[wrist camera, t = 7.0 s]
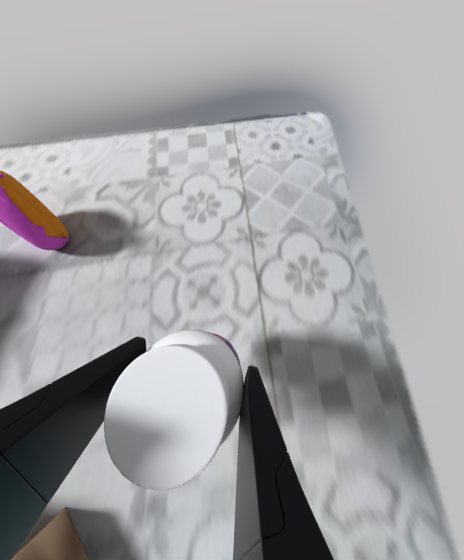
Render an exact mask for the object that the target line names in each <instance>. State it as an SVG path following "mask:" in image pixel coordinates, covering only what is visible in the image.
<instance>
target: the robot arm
mask: <svg viewBox="0 0 464 560" xmlns="http://www.w3.org/2000/svg"><path fill="white" fill-rule="evenodd" d="M144 353H146V340H145V338H142V337H135V338H133V339H131V340H129V341H128V342H126V343H124V344H122V345H120V346H118V347H117V348H115V349H113V350H111V351H109V352H107V353H106V354H104V355H102V356H100V357H98V358H96V359H95V360H93V361H91V362H89V363H87V364H85V365H83V366H82V367H80V368H78V369H76V370H74V371H72V372H71V373H69V374H67V375H65V376H63V377H61V378H60V379H58V380H56V381H54V382H52V383H51V384H48V385H47V386H45V387H43V388H41V389H39V390H37V391H35V392H34V393H32V394H30V395H28V396H26V397H24V398H22V399H20V400H18V401H16V402H14V403H12V404H10V405H8V406H6V407H4V408H2V409H0V560H11V558H12V557H13V555H14V554H15V552H16V551H17V549H18V548H19V546H20V545H21V543H22V542H23V540H24V539H25V537H26V536H27V534H28V533H29V531H30V530H31V528H32V527H33V525H34V524H35V522H36V521H37V520H38V518H39V517H40V515H41V514H42V512H43V511H44V509H45V508H46V506H47V503H49V501H50V500H51V498H52V497H53V496H54V494H55V493H56V491H57V490H58V488H59V487H60V485H61V484H62V482H63V481H64V479H65V478H66V476H67V475H68V473H69V472H70V470H71V469H72V467H73V466H74V464H75V463H76V461H77V460H78V458H79V457H80V455H81V454H82V452H83V451H84V449H85V448H86V447H87V445H88V444H89V442H90V441H91V439H92V438H93V436H94V435H95V433H96V432H97V430H98V429H99V427H100V426H101V424H102V423H103V421H104V418H105V411H106V406H107V402H108V399H109V396H110V393H111V391H112V389H113V387H114V385H115V383H116V381H117V380H118V378H119V376H120V375H121V374H122V372H123V371H124V370H125V369H126V368H127V367H128V366H129V365H130V364H131V363H132V362H133V361H134V360H135V359H136V358H138V357H139V356H141V355H142V354H144ZM286 452H287V448H286V445H285V442H284V440H283V437H282V434H281V431H280V429H279V426H278V423H277V420H276V417H275V415H274V412H273V409H272V406H271V404H270V401H269V398H268V395H267V393H266V390H265V387H264V384H263V381H262V379H261V376H260V373H259V370H258V368H257V367H255V366H251V365H250V366H249V367H248V370H247V373H246V377H245V382H244V393H243V400H242V406H241V411H240V419H239V440H238V463H237V485H236V507H235V529H234V552H233V560H334V559H333V557H332V555H331V552H330V550H329V548H328V546H327V544H326V541H325V539H324V537H323V535H322V532H321V530H320V528H319V526H318V524H317V521H316V519H315V517H314V515H313V513H312V510H311V508H310V506H309V504H308V501H307V499H306V497H305V494H304V492H303V490H302V487H301V485H300V483H299V480H298V477H297V475H296V472H295V470H294V467H293V464H292V462H291V459H290V456H289V453H288V452H287V453H286Z"/></svg>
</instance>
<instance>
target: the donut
mask: <svg viewBox="0 0 464 560" xmlns="http://www.w3.org/2000/svg"><path fill="white" fill-rule="evenodd" d="M0 222H1V223H2V224H4V225H5V226H7V227H8V228H9V229H11V230H12V231H14V232H15V233H17V234H18V235H19V236H21V237H22V238H24V239H25V240H27V241H28V242H30V243H32V244H33V245H35V246H36V247H38V248H41V249H45V250H56V249H59V248H61V247H63V246H64V245H65V244H66V243H67V242H68V241H69V240H68V231H67V229H66V228H65V226H64V225H63V224H62V223H61V222H60V221H59V220H58V218H57V217H56V216H55V215H54V214H53V213H52V212H51V211H50V210H49V209H48V208H47V207H46V206H45V205H44V204H43V203H42V202H40V201H39V200H38V199H37V198H36V197H35V196H34V195H33V194H32V193H31V192H30V191H29V190H27V189H26V188H25V187H24V186H23V185H22V184H21V183H20V182H18V181H17V180H16V179H15V178H13V177H12V176H10V175H9V174H7V173H5V172H3V171H0Z"/></svg>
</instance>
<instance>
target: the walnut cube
mask: <svg viewBox="0 0 464 560" xmlns="http://www.w3.org/2000/svg"><path fill="white" fill-rule="evenodd" d="M11 560H89V559H88V556H87V554H86V552H85V550H84V547H83V545H82V543H81V541H80V538H79V536H78V534H77V532H76V529H75V527H74V525H73V523H72V520H71V518H70V516H69V514H68V511H67V509H66V507H65V508H64V509H63V510H62V511H61V512H60V513H59V514H58V515H57V516H56V517H55V518H54V519H53V520H51V521H50V522H49V523H48V524H47V525H46V526H45V527H44V528H43V529H42V530H41V531H40V532H39V533H38V534H36V535H35V536H34V537H33V538H32V539H31V540H30V541H29V542H28V543H27V544H26V545H25V546H24V547H23V548H21V549H20V550H19V551H18V552H17V553H16V554H15V555H14V556H13V557H12V558H11Z"/></svg>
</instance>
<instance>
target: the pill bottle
mask: <svg viewBox="0 0 464 560" xmlns="http://www.w3.org/2000/svg"><path fill="white" fill-rule="evenodd" d="M243 393H244V381H243V375H242V370H241V366H240V362H239V358H238V355H237V353H236V351H235V349H234V347H233V346H232V345H231V344H230V343H229V342H228V341H227V340H226V339H225V338H223V337H221V336H219V335H217V334H213V333H209V332H205V331H201V330H183V331H178V332H175V333H172V334H170V335H168V336H165V337H163V338H162V339H160V340H159V341H157V342H156V343H155V344H154V345H152V346H151V347H150V348H149V349H148V350H147V351H146V353H144V354H142V355H141V356H139V357H138V358H136V359H135V360H134V361H133V362H132V363H131V364H130V365H129V366H128V367H127V368H126V369H125V370H124V371H123V372H122V374H121V375H120V376H119V378H118V380H117V381H116V383H115V385H114V387H113V389H112V391H111V393H110V396H109V399H108V402H107V406H106V411H105V418H104V432H105V441H106V445H107V449H108V452H109V455H110V457H111V459H112V461H113V463H114V465H115V466H116V467H117V469H118V470H119V471H120V472H121V474H122V475H123V476H124V477H126V478H127V479H128V480H130V481H131V482H133V483H134V484H136V485H138V486H140V487H143V488H146V489H151V490H169V489H172V488H176V487H179V486H181V485H183V484H185V483H187V482H189V481H191V480H192V479H194V478H195V477H196V476H197V475H198V474H200V473H201V472H202V471H203V470H204V469H205V468H206V466H207V465H208V464H209V463H210V461H211V460H212V458H213V457H214V456H215V454H216V452H217V450H218V448H219V446H220V445H221V444H222V443H223V442H224V441H225V440H226V439H227V437H228V436H229V435H230V433H231V432H232V430H233V429H234V427H235V425H236V423H237V421H238V418H239V415H240V411H241V406H242V400H243Z"/></svg>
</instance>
